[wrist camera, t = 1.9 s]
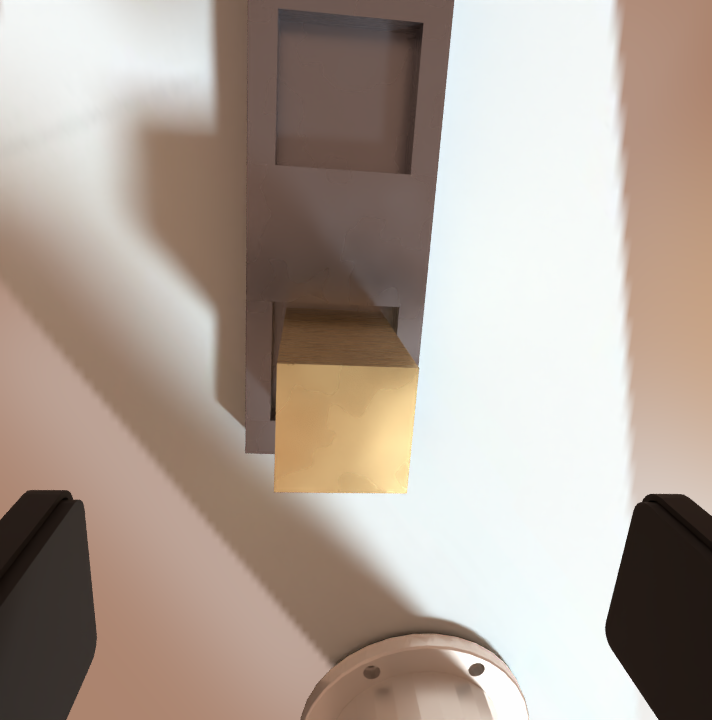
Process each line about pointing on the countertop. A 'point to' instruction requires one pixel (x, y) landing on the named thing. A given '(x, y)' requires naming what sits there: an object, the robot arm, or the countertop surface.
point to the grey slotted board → (338, 170)
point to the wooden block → (343, 404)
